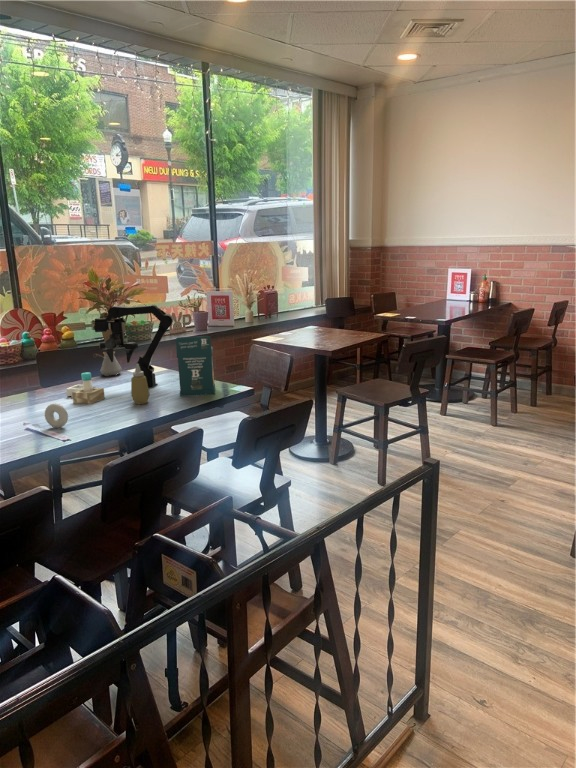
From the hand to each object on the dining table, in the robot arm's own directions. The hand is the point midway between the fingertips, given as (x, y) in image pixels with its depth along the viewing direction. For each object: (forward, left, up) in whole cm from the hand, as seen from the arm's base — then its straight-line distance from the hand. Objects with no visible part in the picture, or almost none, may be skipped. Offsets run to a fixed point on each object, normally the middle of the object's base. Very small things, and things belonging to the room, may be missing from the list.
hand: (120, 362), depth 281 cm
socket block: (+2, +25, -13) cm, 28 cm away
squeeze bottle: (-25, +24, -13) cm, 37 cm away
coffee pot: (+23, -20, -13) cm, 33 cm away
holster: (+13, +17, -13) cm, 25 cm away
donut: (-11, +63, -13) cm, 65 cm away
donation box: (-42, 0, -13) cm, 44 cm away
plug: (+2, +25, -13) cm, 28 cm away
